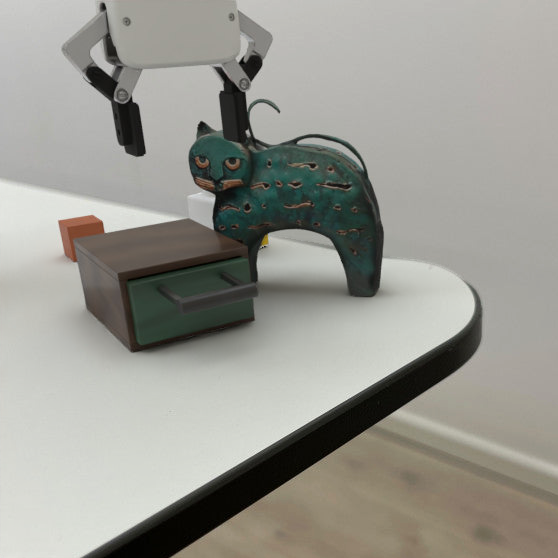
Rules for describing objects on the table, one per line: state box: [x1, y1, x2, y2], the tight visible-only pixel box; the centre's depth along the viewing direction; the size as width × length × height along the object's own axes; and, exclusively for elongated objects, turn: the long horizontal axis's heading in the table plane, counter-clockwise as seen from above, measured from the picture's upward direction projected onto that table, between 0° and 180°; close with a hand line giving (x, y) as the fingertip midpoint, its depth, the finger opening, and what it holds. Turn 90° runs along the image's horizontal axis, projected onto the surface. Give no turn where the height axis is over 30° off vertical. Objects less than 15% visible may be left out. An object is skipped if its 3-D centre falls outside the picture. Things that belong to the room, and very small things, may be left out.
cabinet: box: [73, 217, 256, 353], centre depth 77 cm, size 15×13×8 cm
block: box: [57, 214, 106, 263], centre depth 99 cm, size 4×4×4 cm
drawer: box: [126, 257, 259, 345], centre depth 73 cm, size 20×11×6 cm, turn 34°
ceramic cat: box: [187, 98, 385, 298], centre depth 81 cm, size 20×6×20 cm, turn 75°
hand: (186, 146), depth 63 cm, fingers open, 8 cm apart
